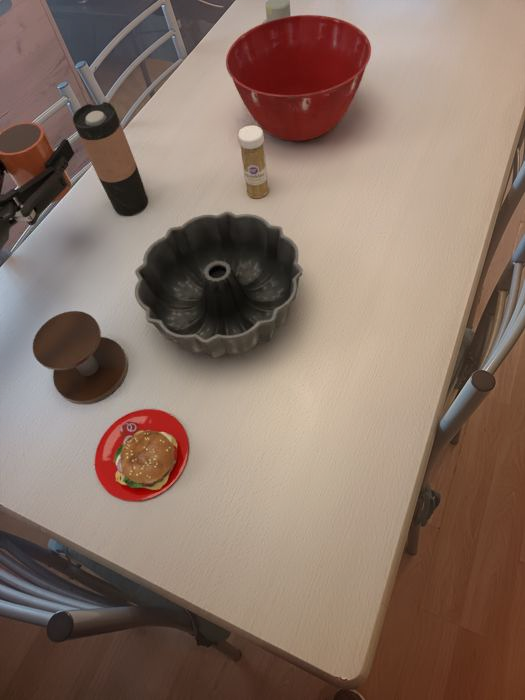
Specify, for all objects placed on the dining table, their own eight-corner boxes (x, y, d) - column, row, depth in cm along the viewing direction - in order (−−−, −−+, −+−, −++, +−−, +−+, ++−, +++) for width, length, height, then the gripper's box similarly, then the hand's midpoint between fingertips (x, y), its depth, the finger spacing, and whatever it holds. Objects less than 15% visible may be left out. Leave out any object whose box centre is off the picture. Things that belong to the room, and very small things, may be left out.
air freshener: (268, 58, 126) (264, 15, 117) (254, 44, 130) (250, 1, 121) (306, 45, 127) (305, 1, 119) (292, 31, 132) (290, -12, 123)
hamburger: (198, 415, 76) (190, 398, 71) (175, 508, 69) (164, 496, 64) (113, 405, 78) (98, 388, 73) (82, 494, 71) (63, 481, 66)
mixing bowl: (385, 145, 104) (394, 71, 91) (253, 178, 103) (243, 108, 90) (340, 74, 119) (343, 2, 106) (225, 102, 118) (213, 33, 105)
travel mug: (128, 222, 100) (89, 133, 83) (105, 206, 103) (63, 117, 86) (157, 201, 102) (124, 110, 85) (133, 186, 105) (97, 95, 88)
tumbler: (16, 202, 86) (-18, 152, 77) (39, 170, 90) (9, 119, 81) (57, 207, 84) (26, 157, 75) (79, 175, 88) (52, 123, 79)
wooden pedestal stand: (43, 395, 80) (10, 364, 72) (77, 334, 86) (50, 299, 78) (108, 411, 78) (82, 381, 69) (139, 347, 83) (118, 312, 75)
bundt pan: (202, 234, 96) (190, 193, 87) (328, 276, 87) (329, 235, 79) (122, 340, 85) (100, 305, 76) (258, 399, 76) (250, 367, 68)
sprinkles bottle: (248, 201, 99) (239, 142, 88) (245, 186, 102) (235, 127, 90) (271, 196, 99) (265, 137, 88) (267, 181, 102) (260, 122, 90)
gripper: (18, 232, 68) (92, 129, 79) (-103, 213, 73) (-18, 119, 84) (44, 268, 74) (109, 168, 85) (-69, 249, 79) (6, 157, 90)
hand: (46, 144), depth 84 cm, fingers closed on tumbler, 8 cm apart
